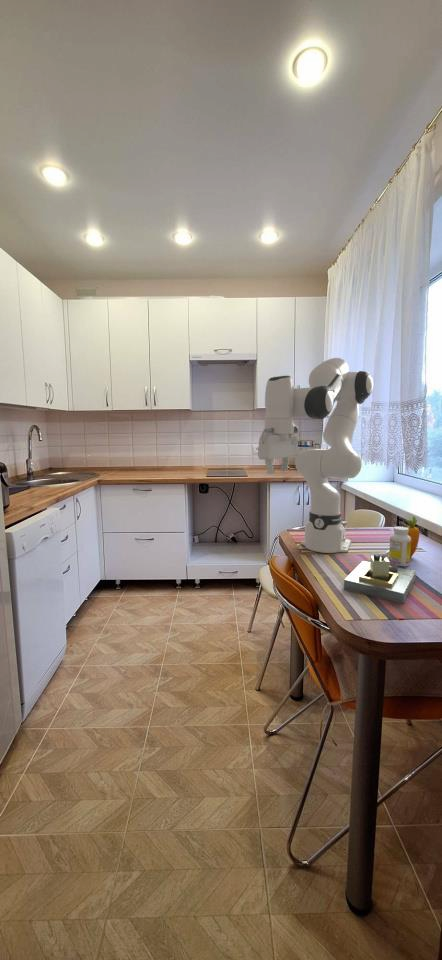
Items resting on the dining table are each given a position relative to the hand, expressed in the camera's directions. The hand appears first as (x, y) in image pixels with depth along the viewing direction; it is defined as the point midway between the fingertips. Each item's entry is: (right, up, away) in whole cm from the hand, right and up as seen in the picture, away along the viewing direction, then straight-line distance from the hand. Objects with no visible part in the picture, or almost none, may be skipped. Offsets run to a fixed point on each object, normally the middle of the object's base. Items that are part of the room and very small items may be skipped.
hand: (277, 472), depth 121 cm
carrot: (+52, -31, +19) cm, 63 cm away
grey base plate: (+31, -34, -5) cm, 46 cm away
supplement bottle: (+44, -32, +12) cm, 56 cm away
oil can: (+29, -35, -8) cm, 46 cm away
